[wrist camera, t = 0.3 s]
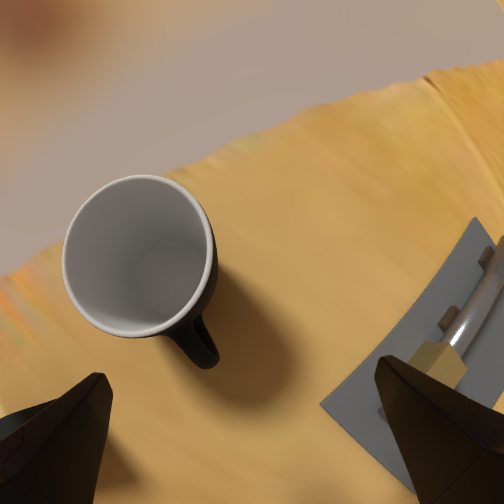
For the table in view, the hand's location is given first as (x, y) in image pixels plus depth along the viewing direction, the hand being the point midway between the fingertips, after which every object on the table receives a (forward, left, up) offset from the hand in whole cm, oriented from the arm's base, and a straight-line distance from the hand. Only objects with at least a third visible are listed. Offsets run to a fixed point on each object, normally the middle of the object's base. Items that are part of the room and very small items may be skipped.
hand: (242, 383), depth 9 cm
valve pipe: (-15, -18, -15) cm, 28 cm away
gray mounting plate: (-16, -16, -15) cm, 27 cm away
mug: (+6, +2, -15) cm, 17 cm away
